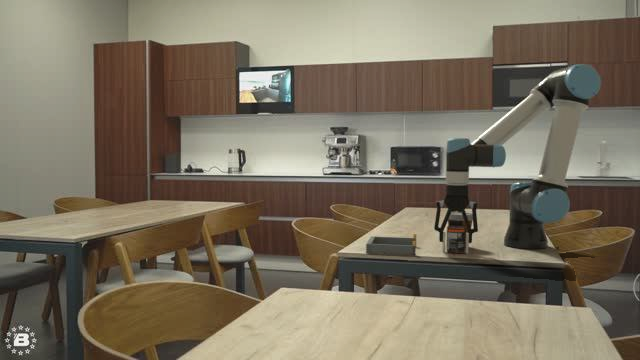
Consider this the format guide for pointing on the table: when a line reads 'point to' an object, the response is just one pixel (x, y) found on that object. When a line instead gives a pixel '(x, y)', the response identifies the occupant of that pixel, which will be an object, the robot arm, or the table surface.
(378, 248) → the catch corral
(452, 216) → the disposable coffee cup
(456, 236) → the supplement bottle
